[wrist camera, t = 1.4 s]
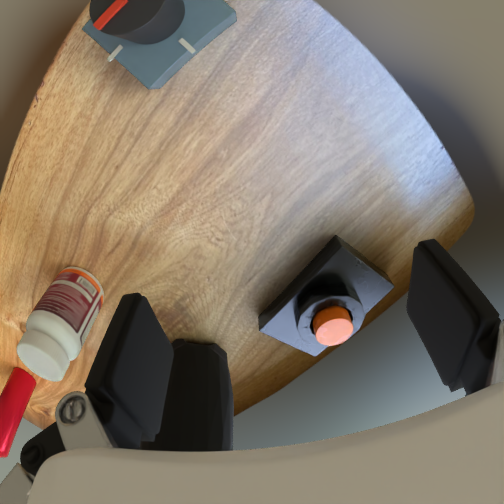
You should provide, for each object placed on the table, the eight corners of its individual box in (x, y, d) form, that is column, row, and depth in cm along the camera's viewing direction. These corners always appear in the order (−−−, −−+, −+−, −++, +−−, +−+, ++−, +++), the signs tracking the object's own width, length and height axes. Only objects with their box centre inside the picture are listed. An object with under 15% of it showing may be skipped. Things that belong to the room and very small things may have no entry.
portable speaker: (246, 364, 36) (249, 515, 20) (187, 383, 38) (173, 515, 22) (207, 323, 32) (190, 501, 16) (146, 347, 34) (111, 496, 18)
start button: (330, 299, 26) (335, 312, 25) (356, 314, 27) (361, 327, 26) (304, 324, 28) (307, 337, 26) (330, 337, 29) (334, 350, 27)
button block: (335, 234, 27) (347, 257, 24) (387, 274, 30) (401, 297, 26) (258, 316, 32) (259, 344, 28) (312, 342, 34) (318, 369, 31)
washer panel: (170, -40, 14) (161, -54, 11) (244, 21, 18) (244, 11, 15) (92, 34, 17) (74, 30, 14) (159, 95, 20) (147, 97, 18)
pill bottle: (53, 263, 28) (0, 334, 18) (98, 265, 28) (49, 345, 19) (68, 306, 31) (29, 377, 21) (111, 310, 31) (77, 390, 22)
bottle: (40, 383, 42) (7, 470, 24) (30, 386, 43) (-2, 467, 26) (19, 365, 39) (-20, 452, 22) (10, 369, 40) (-26, 450, 23)
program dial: (156, -23, 13) (131, -49, 8) (199, 11, 15) (184, -11, 10) (109, 22, 14) (72, 9, 10) (149, 57, 16) (119, 50, 12)
